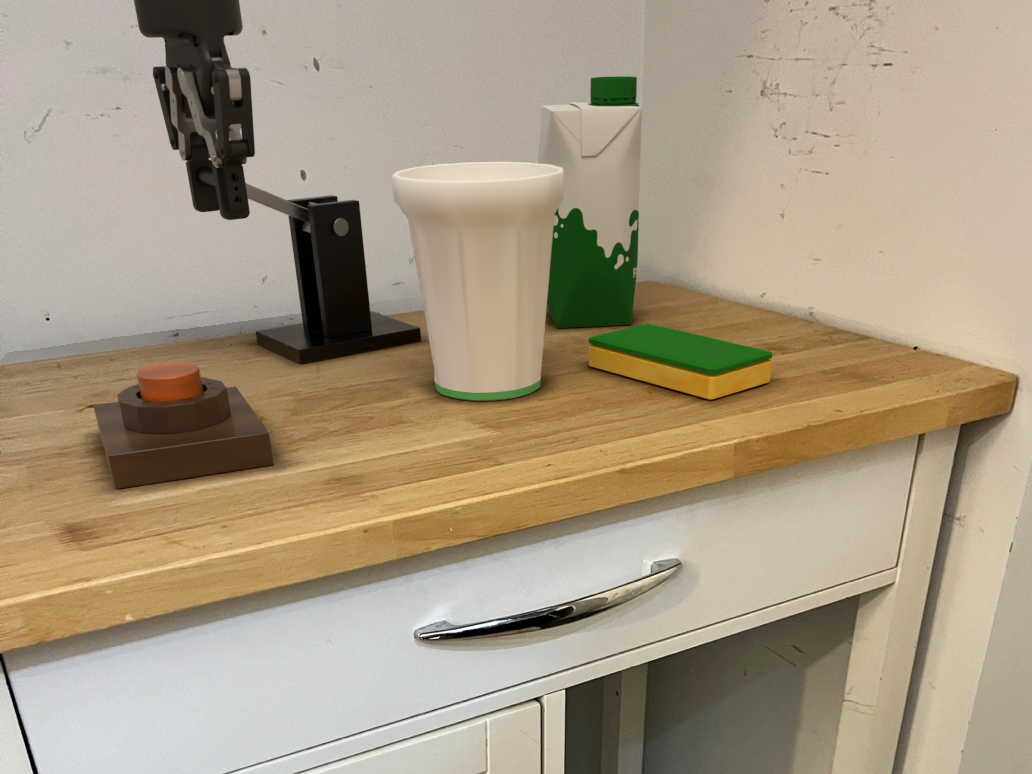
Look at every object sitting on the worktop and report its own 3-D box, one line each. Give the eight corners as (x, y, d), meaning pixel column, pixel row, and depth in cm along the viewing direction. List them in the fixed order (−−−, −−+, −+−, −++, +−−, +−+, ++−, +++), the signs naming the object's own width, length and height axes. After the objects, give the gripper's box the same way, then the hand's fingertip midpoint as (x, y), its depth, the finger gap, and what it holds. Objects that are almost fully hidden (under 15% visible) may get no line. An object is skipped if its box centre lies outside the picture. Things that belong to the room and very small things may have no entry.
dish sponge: (646, 351, 94) (647, 322, 93) (772, 383, 85) (775, 351, 84) (586, 366, 90) (586, 336, 89) (710, 401, 82) (712, 368, 80)
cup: (475, 357, 94) (464, 158, 85) (597, 378, 87) (598, 165, 79) (376, 393, 85) (354, 176, 77) (503, 419, 79) (494, 185, 71)
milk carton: (643, 327, 102) (650, 78, 91) (546, 331, 101) (542, 81, 90) (626, 306, 109) (631, 74, 98) (536, 310, 108) (531, 77, 98)
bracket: (300, 364, 93) (280, 213, 87) (257, 344, 99) (234, 202, 93) (421, 341, 99) (410, 198, 93) (373, 323, 105) (359, 188, 99)
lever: (216, 193, 85) (223, 161, 84) (192, 187, 89) (199, 156, 88) (349, 247, 93) (356, 218, 93) (322, 239, 97) (329, 211, 96)
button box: (100, 435, 78) (86, 378, 76) (241, 415, 81) (231, 360, 79) (115, 489, 68) (100, 426, 66) (274, 465, 72) (264, 404, 70)
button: (138, 393, 74) (133, 366, 73) (199, 385, 75) (194, 359, 74) (145, 409, 71) (139, 381, 70) (208, 400, 72) (203, 373, 71)
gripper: (97, -36, 82) (146, 210, 92) (165, -47, 73) (212, 230, 82) (193, -35, 86) (230, 201, 95) (269, -46, 76) (303, 219, 85)
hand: (221, 213), depth 88 cm, fingers closed on lever, 5 cm apart
